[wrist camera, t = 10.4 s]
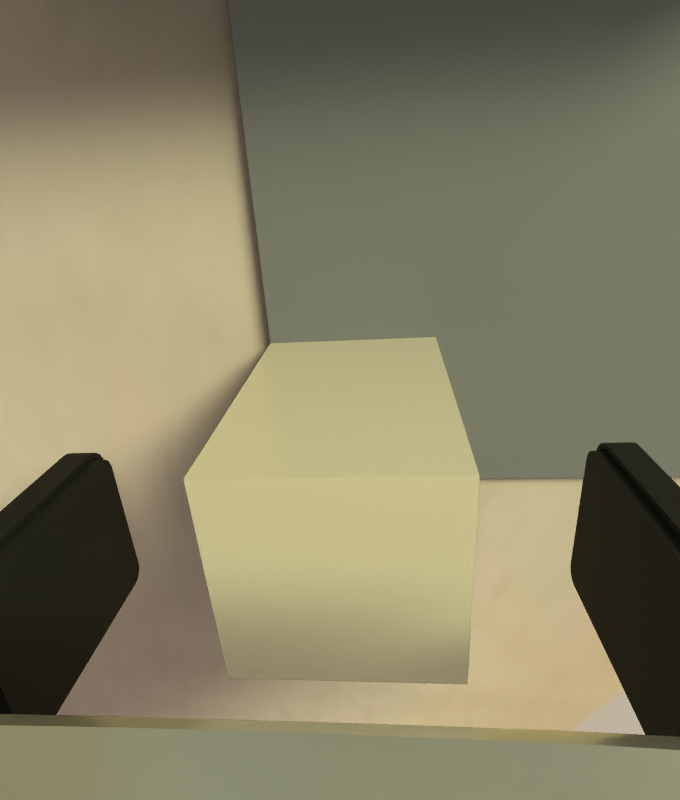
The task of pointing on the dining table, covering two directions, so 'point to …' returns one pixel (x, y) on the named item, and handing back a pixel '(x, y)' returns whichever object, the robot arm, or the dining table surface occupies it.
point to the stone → (341, 516)
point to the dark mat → (480, 205)
